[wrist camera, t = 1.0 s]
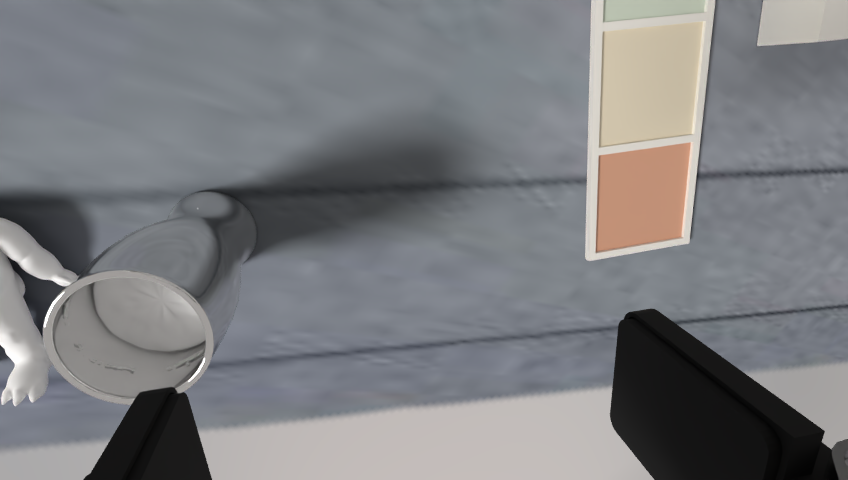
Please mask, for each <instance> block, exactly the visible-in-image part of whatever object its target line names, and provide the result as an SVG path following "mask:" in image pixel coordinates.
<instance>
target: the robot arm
mask: <svg viewBox="0 0 848 480" xmlns="http://www.w3.org/2000/svg"><path fill="white" fill-rule="evenodd" d="M610 418H611V422H612V425H613V427H614V429H615V431H616V432H617V434H618V435H619V436H620V437H621V439H622V440H623V441H624V442H625V443H626V445H627V446H628V447H629V448H630V450H631V451H632V452H633V453H634V455H635V456H636V457H637V459H638V460H639V461H640V462H641V463H642V465H643V466H644V467H645V468H646V470H647V471H648V472H649V473H650V475H651V476H652V477H653V478H654V480H848V439H846V440H843V441H840V442H837V443H836V444H835V445H834V447H833V448H832V450H831V449H830V448H829V447H827V446H826V445H825V444H823V443H822V439H823V435H824V432H825V431H824V430H822V429H821V428H820V427H818V426H817V425H816V424H814V423H813V422H811V421H810V420H808V419H807V418H806V417H804V416H803V415H802V414H800V413H799V412H797V411H796V410H795V409H793V408H792V407H791V406H789V405H788V404H786V403H785V402H783V401H782V400H781V399H779V398H778V397H777V396H775V395H774V394H772V393H771V392H770V391H768V390H767V389H766V388H764V387H763V386H761V385H760V384H759V383H757V382H756V381H754V380H753V379H752V378H750V377H749V376H747V375H746V374H745V373H743V372H742V371H741V370H739V369H738V368H736V367H735V366H734V365H732V364H731V363H729V362H728V361H727V360H725V359H724V358H722V357H721V356H720V355H718V354H717V353H716V352H714V351H713V350H711V349H710V348H709V347H707V346H706V345H704V344H703V343H702V342H700V341H699V340H697V339H696V338H695V337H693V336H692V335H691V334H689V333H688V332H686V331H685V330H684V329H682V328H681V327H679V326H678V325H677V324H675V323H674V322H672V321H671V320H670V319H668V318H667V317H666V316H664V315H663V314H661V313H660V312H659V311H657V310H655V309H646V310H640V311H634V312H629V313H627V314H626V315H625V317H624V320H621V321H620V323H619V326H618V336H617V347H616V358H615V368H614V379H613V389H612V400H611V410H610ZM84 480H212V478H211V475H210V472H209V468H208V464H207V461H206V458H205V454H204V451H203V447H202V444H201V441H200V437H199V434H198V430H197V427H196V423H195V420H194V417H193V413H192V410H191V406H190V403H189V400H188V397H187V395H186V393H184V392H182V393H178V392H177V390H176V389H175V388H174V387H167V388H161V389H154V390H148V391H142V392H140V393H139V394H138V395H137V396H136V398H135V400H134V401H133V403H132V405H131V406H130V408H129V410H128V411H127V413H126V415H125V416H124V418H123V420H122V422H121V423H120V425H119V427H118V428H117V430H116V432H115V433H114V435H113V437H112V438H111V440H110V442H109V443H108V445H107V447H106V448H105V450H104V452H103V453H102V455H101V457H100V458H99V460H98V462H97V463H96V465H95V467H94V468H93V470H92V472H91V473H90V474H89V475H87V476H86V477H85V478H84Z"/></svg>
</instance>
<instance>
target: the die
mask: <svg viewBox="0 0 848 480" xmlns="http://www.w3.org/2000/svg"><path fill="white" fill-rule="evenodd" d="M840 39H848V0H763V5H762V13H761V20H760V27H759V34H758V41H757V46H767V45H781V44H796V43H810V42H822V41H831V40H840Z"/></svg>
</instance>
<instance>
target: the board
mask: <svg viewBox="0 0 848 480" xmlns="http://www.w3.org/2000/svg"><path fill="white" fill-rule="evenodd" d="M714 8H715V0H591V35H590V77H589V119H588V161H587V203H586V245H585V259H587V260H588V261H592V260H598V259H603V258H609V257H614V256H620V255H626V254H631V253H637V252H643V251H648V250H654V249H660V248H665V247H671V246H676V245H682V244H688V243H689V240H690V231H691V222H692V213H693V203H694V194H695V185H696V175H697V166H698V157H699V148H700V138H701V129H702V120H703V110H704V101H705V92H706V83H707V73H708V64H709V55H710V45H711V36H712V27H713V18H714Z"/></svg>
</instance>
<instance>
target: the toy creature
mask: <svg viewBox="0 0 848 480" xmlns="http://www.w3.org/2000/svg"><path fill="white" fill-rule="evenodd" d="M7 256H8V257H9V258H11V259H12V260H14V261H16V262H17V263H18V264H19V265H20V267H21V268H22V269H23V270H24V271H26V272H27V273H29V274H31V275H33V276H35V277H37V278H40V279H43V280H52V281H54V282H56V283H57V284H59V285H61V286H69V285H70V284H71V283H72V281H73V280H74V279H75V278H76V277H77V275H76V274H75V273H74V272H72V271H70V270H67V269H64V268H63V267H62V265H61V264H60V262H59V261H58V260H57V259H56V257H55V256H54V255H53V254H51V253H50V252H49V251H47V250H46V249H44V248H42V247H41V246H40V245H39V244H38V243H37V242H36V240H35V239H34V238H33V237H32V236H31V235H30V234H29V233H28V232H27V231H26V230H24V229H23V228H22V227H21V226H19V225H18V224H16V223H14V222H11V221H9V220H7V219H4V218H0V345H1V346H2V347H3V348H4V349H5V352H6V355H7V356H8V357H9V358H11V360H12V361H13V362H14V363H15V368H14V370H13V371H12V373H11V374H10V376H9V378H8V382H7V386H6V388H5V389H4V391H3V393H2V397H1V403H2V405H4V404H5V403H6V402H7V401H9V400H11V399H12V398H13V404H14V405H15V406H17V405H18V404H19V403H20V402H21V401H22V400H23V399H24V398H25V396H26V395H27V394H28V395H29V399H30V401H31V402H35V401H36V400H37V399H38V398H39V397H41V396H42V395H44V393H45V392H46V389H47V385H48V371H49V368H50V367H51V365H52V363H51V361H50V359H49V357H48V355H47V352H46V349H45V346H44V341H43V338H42V336H41V334H40V332H39V330H38V328H37V327H36V326H35V324H34V322H33V319H32V316H31V314H30V312H29V309H28V307H27V305H26V302H25V300H24V298H23V295H24V293H25V285H24V282H23V280H22V279H21V277H20V276H19V275H18V274H17V273H16V272H15V271H14V270H13V268H12V266H11V263H10V261H9V259H8V257H7Z"/></svg>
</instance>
